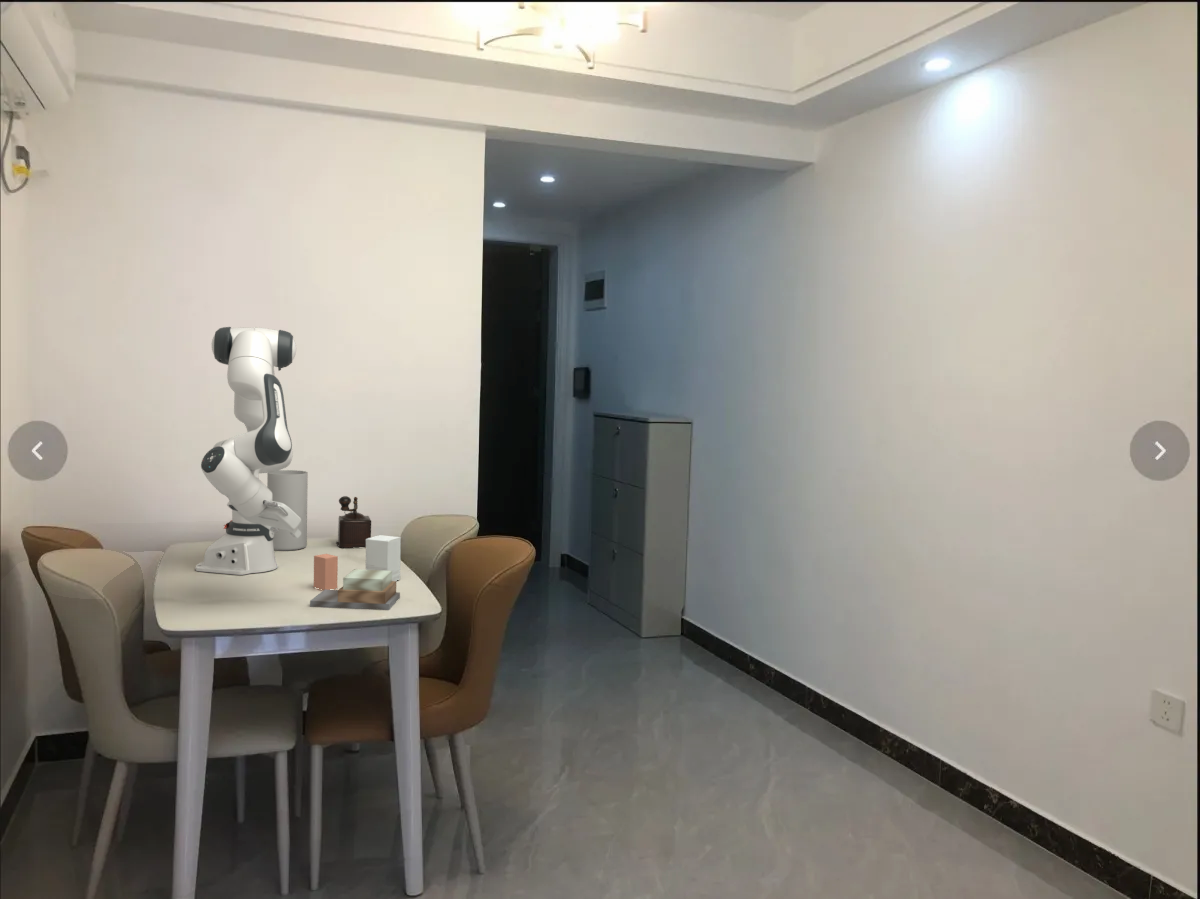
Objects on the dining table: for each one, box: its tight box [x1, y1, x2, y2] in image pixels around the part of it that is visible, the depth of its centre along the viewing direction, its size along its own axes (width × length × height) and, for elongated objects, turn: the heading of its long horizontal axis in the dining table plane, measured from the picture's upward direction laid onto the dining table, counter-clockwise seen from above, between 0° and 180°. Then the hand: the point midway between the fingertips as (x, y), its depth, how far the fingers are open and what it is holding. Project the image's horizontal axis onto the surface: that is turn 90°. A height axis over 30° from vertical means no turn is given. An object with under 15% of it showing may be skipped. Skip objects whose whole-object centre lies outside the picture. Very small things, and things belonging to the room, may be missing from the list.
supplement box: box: [365, 534, 402, 582], centre depth 258 cm, size 7×7×13 cm
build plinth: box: [309, 568, 401, 611], centre depth 235 cm, size 20×12×8 cm, turn 89°
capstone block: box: [313, 553, 339, 591], centre depth 248 cm, size 4×5×9 cm
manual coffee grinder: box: [336, 495, 372, 549], centre depth 305 cm, size 16×11×18 cm
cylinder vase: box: [266, 469, 309, 552], centre depth 299 cm, size 12×12×25 cm
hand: (287, 533), depth 237 cm, fingers open, 8 cm apart
